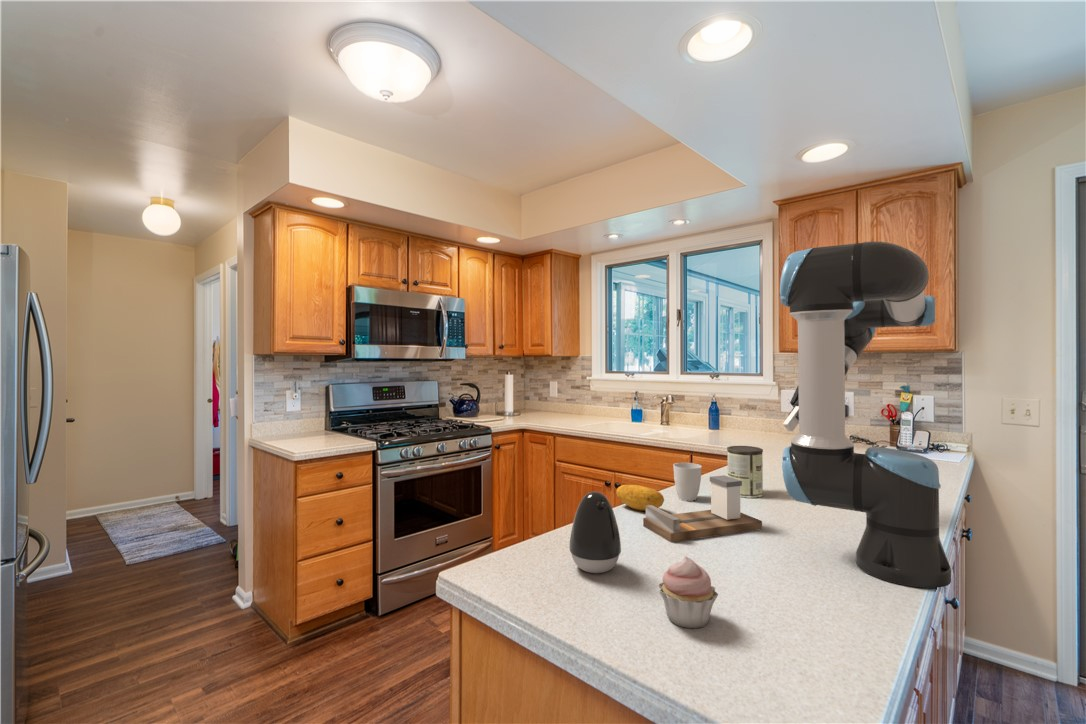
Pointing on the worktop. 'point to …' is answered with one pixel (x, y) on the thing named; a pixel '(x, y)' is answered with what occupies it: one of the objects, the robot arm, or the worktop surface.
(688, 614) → the cupcake
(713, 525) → the board
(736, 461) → the coffee can
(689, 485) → the cup
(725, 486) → the fader tab
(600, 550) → the dark egg-shaped tumbler
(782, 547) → the worktop surface
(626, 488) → the potato
